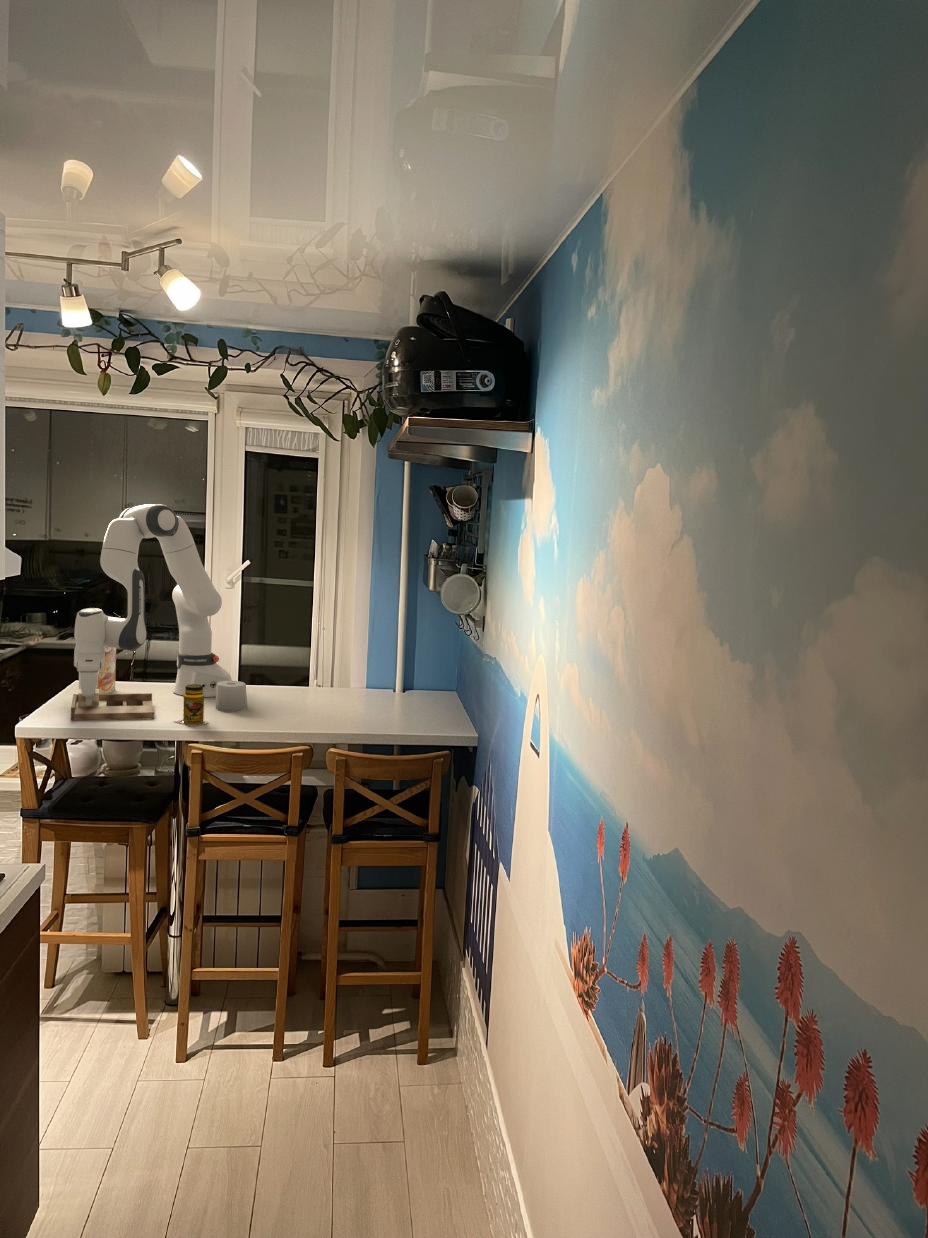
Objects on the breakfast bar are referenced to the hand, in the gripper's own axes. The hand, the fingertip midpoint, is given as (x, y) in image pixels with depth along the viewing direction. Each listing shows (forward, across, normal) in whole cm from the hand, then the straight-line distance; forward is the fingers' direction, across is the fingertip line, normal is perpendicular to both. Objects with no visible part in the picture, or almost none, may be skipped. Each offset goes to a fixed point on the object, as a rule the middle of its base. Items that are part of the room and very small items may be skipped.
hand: (88, 704), depth 286 cm
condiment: (+3, +14, +30) cm, 33 cm away
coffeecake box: (+3, -28, +2) cm, 28 cm away
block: (+1, -5, 0) cm, 6 cm away
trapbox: (+3, -1, +7) cm, 8 cm away
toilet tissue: (+3, -4, +45) cm, 45 cm away
